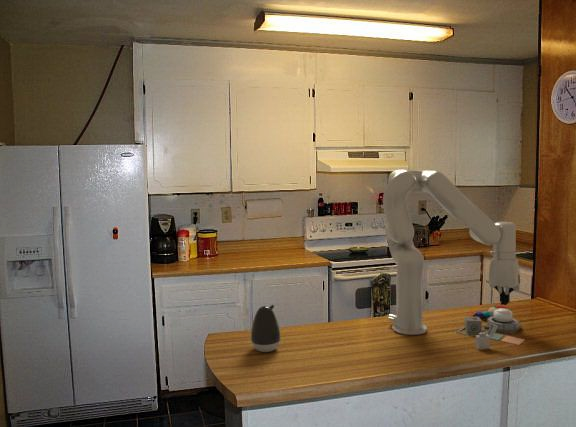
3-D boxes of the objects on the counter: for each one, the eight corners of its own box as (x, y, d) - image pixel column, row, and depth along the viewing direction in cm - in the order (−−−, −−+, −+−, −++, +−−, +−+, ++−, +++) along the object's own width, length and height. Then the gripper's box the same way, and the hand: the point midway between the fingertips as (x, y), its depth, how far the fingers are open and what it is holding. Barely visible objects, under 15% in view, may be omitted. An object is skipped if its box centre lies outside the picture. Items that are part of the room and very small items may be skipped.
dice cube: (481, 334, 176) (481, 321, 175) (467, 334, 177) (467, 320, 176) (479, 330, 181) (479, 316, 180) (464, 329, 182) (464, 316, 181)
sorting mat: (456, 332, 178) (456, 331, 178) (465, 326, 185) (465, 326, 185) (517, 346, 164) (517, 345, 164) (525, 339, 170) (525, 338, 170)
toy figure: (477, 326, 190) (513, 317, 191) (475, 313, 190) (511, 305, 191) (469, 321, 198) (504, 313, 199) (466, 309, 198) (501, 301, 198)
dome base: (484, 328, 182) (484, 321, 181) (494, 322, 189) (494, 314, 189) (512, 334, 175) (512, 326, 175) (521, 327, 182) (521, 319, 182)
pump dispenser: (286, 346, 169) (285, 304, 167) (270, 357, 160) (269, 312, 158) (262, 342, 174) (260, 300, 172) (245, 351, 165) (243, 308, 164)
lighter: (478, 349, 162) (478, 326, 161) (475, 347, 164) (475, 324, 163) (497, 347, 163) (498, 324, 162) (494, 345, 165) (494, 322, 164)
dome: (491, 319, 181) (491, 310, 181) (497, 315, 186) (497, 306, 186) (508, 323, 177) (509, 313, 177) (514, 318, 182) (515, 309, 181)
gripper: (480, 255, 182) (480, 303, 183) (522, 259, 171) (522, 309, 173) (487, 252, 187) (488, 298, 189) (529, 255, 177) (529, 304, 179)
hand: (504, 303), depth 181 cm, fingers closed
